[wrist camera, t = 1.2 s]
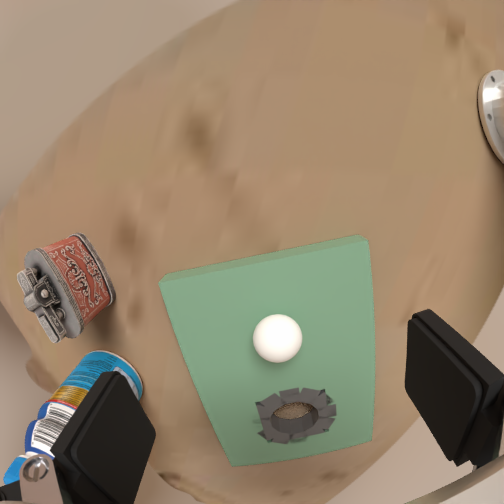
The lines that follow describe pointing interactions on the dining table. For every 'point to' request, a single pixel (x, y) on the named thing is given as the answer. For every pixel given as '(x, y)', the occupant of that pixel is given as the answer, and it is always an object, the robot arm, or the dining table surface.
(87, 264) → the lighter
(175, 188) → the dining table surface
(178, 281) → the green board
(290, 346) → the ball
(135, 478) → the robot arm
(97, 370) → the beverage bottle
